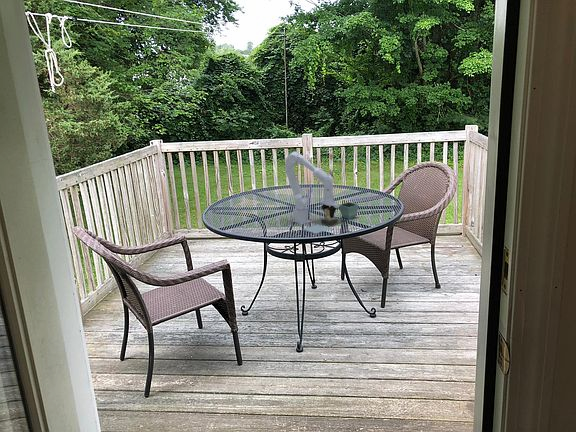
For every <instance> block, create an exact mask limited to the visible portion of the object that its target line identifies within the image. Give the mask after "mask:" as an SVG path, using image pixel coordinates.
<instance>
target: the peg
mask: <svg viewBox="0 0 576 432" xmlns="http://www.w3.org/2000/svg"><path fill="white" fill-rule="evenodd" d="M334 217H335V216H334ZM334 217H333V218H330V212H329V209H328V208H327V209H325V214H324V218H325V220H328V221H330V220H334Z"/></svg>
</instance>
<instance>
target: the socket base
mask: <svg viewBox="0 0 576 432" xmlns="http://www.w3.org/2000/svg"><path fill="white" fill-rule="evenodd" d="M346 222H348V220H346V219H342V218H338V217H335V216H334V220H330V221H328V220H325V217H323V218H319V219H316V220H313V221H312V220H311V223H313V224H316V225H317V224H318V225H321V226H324V227H328V228H332V227H334V226H337V225H340V224H342V223H343V224H344V223H346Z"/></svg>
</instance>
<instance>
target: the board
mask: <svg viewBox="0 0 576 432" xmlns="http://www.w3.org/2000/svg"><path fill="white" fill-rule="evenodd" d="M331 229H332V227H327V226H323V225H320V224H317V223H316V224H314V225H311V226H307V227H305V228H302V231H305V232H308V233H310V234H314V235H318V234H319V233H322V232H325V231H327V230H331Z"/></svg>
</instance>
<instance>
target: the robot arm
mask: <svg viewBox="0 0 576 432" xmlns="http://www.w3.org/2000/svg"><path fill="white" fill-rule="evenodd" d="M296 164H297V165H303V166H304V167H305V168H306V169H308V170H309V171H311V172H312V176H314V177H315V178H316V179H317V180H319V181H320V182H322V185H323V200H320V201H319V204H320V205H321V209H322V210H323V213H324V215H325V209H327V208H328V209H329V212H330V218H333V217H335V212H336V211H337V209H339V204H337V203H336V202H335V200H334V185H333V183H334V178H333V176H332V175H330V174H329V173H326V172H325V171H324V169H323V168H322V167H321V168H320V167H316V166H315V165H313V164H312V162H310V161H309V160H308V159H307V158H306V157H305V156H303V155H302V154H301V153H299V152H298V151H292V152H291V153H289V154H288V155H287V156H286V158H285V164H284V171H285V174H286V176H287V180H288V182H289V185H290V188H291V190H292V192H293V195H294V201H295V202H294V204H295V205H294V206H295V207H294V208H293V210H292V218H293V219H292V222H293V223H297V224H300V225H303V224H307V223H310V222H311V220H310V219H309V211H308V209H309V208H308V203H309V202H308V198H307V197H306V196H305V194H304V193H303V191H302V188H301V185H300V183H299V181H298V178H297V175H296V172H295V169H294V167H295V166H296Z"/></svg>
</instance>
